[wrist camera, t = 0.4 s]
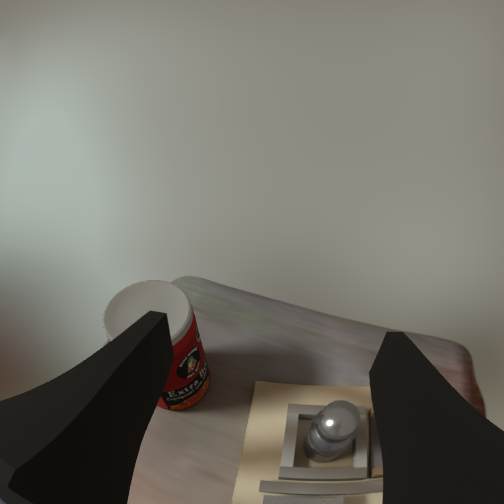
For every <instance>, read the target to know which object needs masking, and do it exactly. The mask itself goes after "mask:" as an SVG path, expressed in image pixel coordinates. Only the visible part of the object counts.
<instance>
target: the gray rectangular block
mask: <svg viewBox="0 0 504 504" xmlns="http://www.w3.org/2000/svg"><path fill="white" fill-rule="evenodd" d="M343 500H344V497H342V498H301V497H283V496H271V495H264V498H263V503H262V504H343Z"/></svg>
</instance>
